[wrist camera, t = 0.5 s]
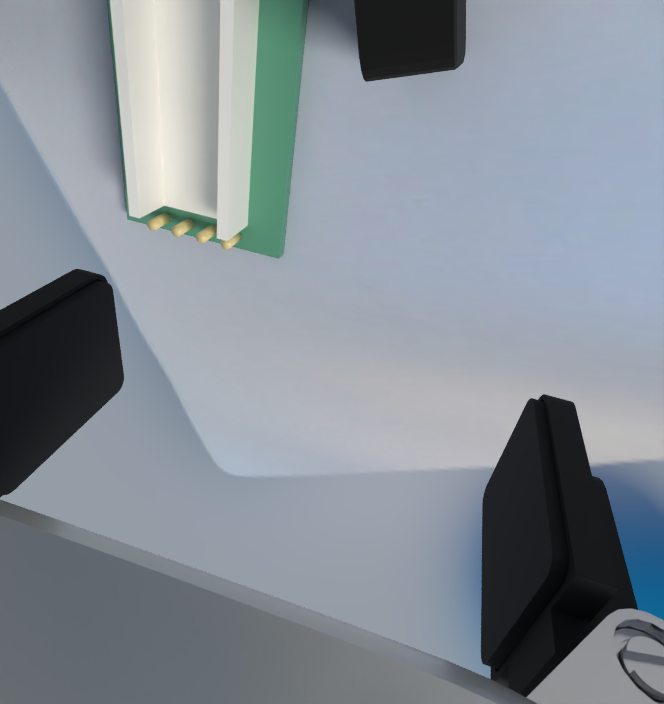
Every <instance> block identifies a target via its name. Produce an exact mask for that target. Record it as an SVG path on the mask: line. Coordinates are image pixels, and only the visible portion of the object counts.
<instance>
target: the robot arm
mask: <svg viewBox="0 0 664 704" xmlns="http://www.w3.org/2000/svg"><path fill="white" fill-rule="evenodd" d="M123 381H124V373H123V366H122V358H121V350H120V342H119V335H118V327H117V319H116V312H115V303H114V295H113V289H112V287H111V285H110V284H108V282H107V280H106V278H105V277H104V276H102V275H100V274H96V273H92V272H89V271H85V270H81V269H75V270H72V271H71V272H69V273H67V274H65V275H63V276H61V277H60V278H58V279H56V280H54V281H52V282H51V283H49V284H47V285H45V286H43V287H42V288H40V289H38V290H36V291H34V292H32V293H31V294H29V295H27V296H25V297H23V298H21V299H20V300H18V301H16V302H14V303H12V304H10V305H9V306H7V307H5V308H3V309H1V310H0V497H1V496H2V495H7V494H9V493H11V492H12V491H14V490H15V489H16V488H17V487H18V486H19V485H20V484H21V483H22V482H23V481H24V480H26V479H27V478H28V477H29V476H30V475H31V474H32V473H33V472H34V471H35V470H36V469H37V468H38V467H39V466H40V465H41V464H42V463H43V462H45V461H46V460H47V459H48V458H49V457H50V456H51V455H52V454H53V453H54V452H55V451H56V450H57V449H58V448H59V447H60V446H61V445H63V444H64V443H65V442H66V441H67V440H68V439H69V438H70V437H71V436H72V435H73V434H74V433H75V432H76V431H77V430H78V429H79V428H81V427H82V426H83V425H84V424H85V423H86V422H87V421H88V420H89V419H90V418H91V417H92V416H93V415H94V414H95V413H96V412H97V411H99V410H100V409H101V408H102V406H104V405H105V404H106V403H107V402H108V401H109V400H110V399H111V398H112V397H113V396H114V395H115V394H116V393H118V391H119V390H120V389H121V387H122V384H123ZM482 521H483V522H482V610H481V659H482V663H483V664H485V665H488V666H490V667H491V679H489V678H486V677H484V676H481V675H479V674H477V673H475V672H472V671H470V670H468V669H465V668H463V667H460V666H458V665H456V664H453V663H451V662H449V661H447V660H444V659H442V658H439V657H436V656H434V655H431V654H428V653H426V652H423V651H421V650H418V649H415V648H413V647H410V646H407V645H404V644H402V643H399V642H397V641H394V640H391V639H389V638H386V637H383V636H381V635H378V634H376V633H373V632H370V631H367V630H365V629H362V628H360V627H357V626H354V625H352V624H349V623H346V622H343V621H341V620H338V619H335V618H332V617H330V616H327V615H324V614H321V613H319V612H316V611H313V610H310V609H307V608H305V607H302V606H299V605H296V604H293V603H291V602H288V601H285V600H282V599H279V598H277V597H274V596H271V595H268V594H266V593H263V592H260V591H257V590H254V589H252V588H249V587H246V586H243V585H240V584H238V583H235V582H232V581H230V580H227V579H224V578H221V577H218V576H216V575H213V574H210V573H207V572H204V571H202V570H198V569H196V568H193V567H190V566H187V565H185V564H182V563H179V562H176V561H173V560H170V559H167V558H165V557H162V556H159V555H156V554H154V553H151V552H148V551H145V550H142V549H139V548H137V547H134V546H131V545H128V544H125V543H123V542H120V541H117V540H114V539H111V538H108V537H106V536H103V535H100V534H97V533H94V532H91V531H89V530H86V529H83V528H80V527H77V526H74V525H71V524H69V523H66V522H63V521H60V520H57V519H54V518H52V517H49V516H46V515H43V514H40V513H37V512H34V511H31V510H28V509H25V508H23V507H20V506H17V505H14V504H11V503H8V502H5V501H2V500H0V704H664V621H663V620H661V619H659V618H657V617H655V616H653V615H651V614H649V613H647V612H643V611H639V610H638V608H637V604H636V600H635V596H634V593H633V589H632V585H631V582H630V578H629V574H628V570H627V566H626V563H625V559H624V555H623V551H622V548H621V544H620V540H619V537H618V532H617V529H616V525H615V521H614V517H613V513H612V510H611V506H610V502H609V499H608V495H607V491H606V488H605V485H604V483H603V481H602V480H600V478H597V477H594V476H592V475H591V470H590V466H589V462H588V458H587V453H586V449H585V445H584V441H583V437H582V433H581V428H580V424H579V420H578V416H577V412H576V408H575V405H574V403H573V402H571V401H567V400H563V399H560V398H556V397H552V396H548V395H545V394H544V395H542V396H541V397H540V398H539V399H538V400H536V399H532V398H531V399H529V401H528V402H527V404H526V406H525V408H524V410H523V412H522V414H521V416H520V418H519V420H518V422H517V424H516V426H515V429H514V431H513V433H512V435H511V437H510V439H509V441H508V443H507V445H506V447H505V449H504V451H503V453H502V455H501V457H500V459H499V461H498V463H497V466H496V468H495V470H494V472H493V474H492V476H491V478H490V480H489V482H488V484H487V486H486V489H485V493H484V497H483V517H482Z"/></svg>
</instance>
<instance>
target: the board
mask: <svg viewBox="0 0 664 704" xmlns="http://www.w3.org/2000/svg"><path fill="white" fill-rule="evenodd" d="M308 1H309V0H107V5H108V15H109V26H110V37H111V47H112V58H113V69H114V79H115V90H116V101H117V112H118V122H119V133H120V144H121V154H122V165H123V176H124V186H125V197H126V208H127V219H128V220H132V221H136V222H140V223H143V224H147V225H148V227H149V229H150V230H153V231H154V230H156V229H158V228H163V229H167V230H170V231H172V234H173V235H174V236H176V237H179V236H181V235H182V234H186V235H190V236H194V237H196V239H197V241H198V242H200V243H204V242H206V241H207V240H209V241H213V242H217V243H221V246H222V247H223V248H224V249H226V250H228V249H230V248H231V247H236V248H240V249H244V250H248V251H251V252H255V253H259V254H263V255H267V256H271V257H275V258H280V257H281V256H282V255H283V253H284V243H285V233H286V223H287V213H288V203H289V193H290V183H291V173H292V163H293V153H294V142H295V132H296V122H297V112H298V102H299V92H300V82H301V72H302V62H303V52H304V42H305V32H306V22H307V12H308Z"/></svg>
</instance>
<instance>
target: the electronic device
mask: <svg viewBox="0 0 664 704" xmlns="http://www.w3.org/2000/svg"><path fill="white" fill-rule="evenodd" d="M354 1H355V13H356V24H357V36H358V48H359V59H360V66H361V71H362V75H363V78H364V80H365V81H366V82H367V81H374V80H382V79H389V78H396V77H404V76H411V75H418V74H426V73H433V72H440V71H448V70H455V69H456V68H458V67H459V66H460V65H461V64H462V63H463V61H464V57H465V44H466V0H354Z"/></svg>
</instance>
